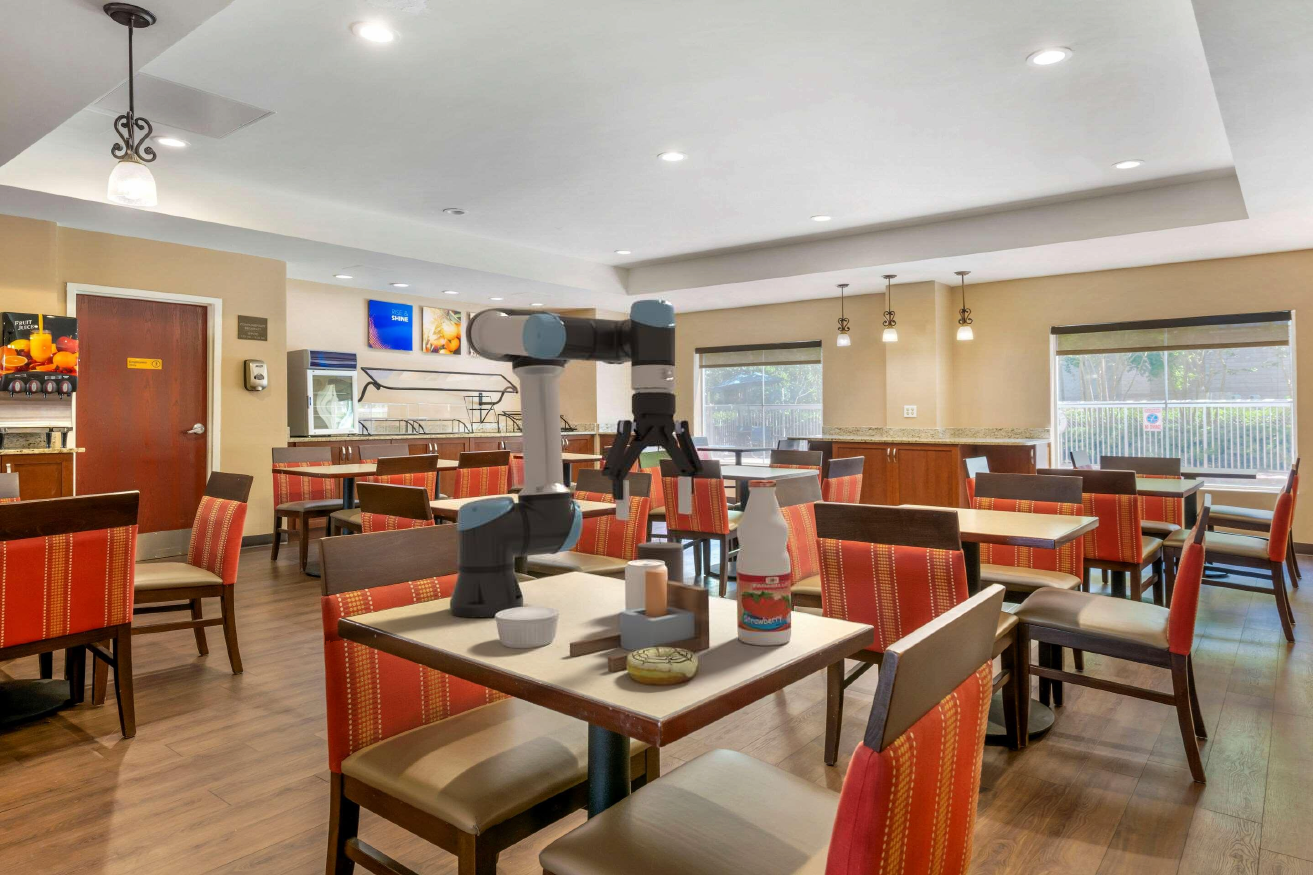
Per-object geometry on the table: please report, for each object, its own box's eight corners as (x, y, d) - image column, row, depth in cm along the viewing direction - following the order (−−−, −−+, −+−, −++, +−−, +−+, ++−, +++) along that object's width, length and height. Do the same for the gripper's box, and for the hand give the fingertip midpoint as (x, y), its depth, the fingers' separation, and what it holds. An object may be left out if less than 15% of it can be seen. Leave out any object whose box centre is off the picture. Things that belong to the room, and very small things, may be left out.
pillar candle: (647, 617, 151) (647, 542, 151) (630, 607, 160) (630, 536, 160) (691, 613, 155) (691, 539, 155) (672, 603, 164) (672, 534, 164)
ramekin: (491, 637, 138) (490, 608, 138) (551, 631, 142) (551, 603, 142) (500, 653, 127) (499, 622, 127) (565, 646, 131) (565, 616, 131)
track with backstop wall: (569, 654, 125) (569, 594, 125) (663, 634, 138) (663, 579, 138) (612, 671, 116) (612, 606, 116) (709, 647, 128) (708, 588, 128)
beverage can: (617, 627, 143) (617, 564, 143) (638, 618, 150) (637, 558, 150) (655, 632, 139) (654, 567, 139) (675, 622, 147) (674, 560, 147)
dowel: (641, 641, 129) (641, 570, 129) (658, 637, 132) (658, 568, 132) (653, 645, 127) (653, 573, 126) (671, 642, 129) (670, 571, 129)
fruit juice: (783, 631, 138) (781, 478, 139) (797, 645, 129) (795, 481, 129) (732, 633, 138) (730, 479, 138) (743, 647, 128) (741, 482, 128)
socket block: (620, 646, 130) (620, 611, 130) (661, 637, 135) (660, 604, 136) (653, 658, 123) (652, 621, 123) (694, 647, 128) (694, 612, 128)
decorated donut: (706, 685, 110) (706, 659, 110) (633, 691, 107) (633, 664, 107) (688, 664, 120) (688, 640, 120) (621, 669, 118) (621, 645, 118)
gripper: (606, 388, 118) (607, 524, 119) (721, 393, 134) (723, 512, 134) (579, 391, 124) (581, 520, 124) (693, 395, 140) (694, 509, 140)
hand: (654, 516), depth 129 cm, fingers open, 13 cm apart
